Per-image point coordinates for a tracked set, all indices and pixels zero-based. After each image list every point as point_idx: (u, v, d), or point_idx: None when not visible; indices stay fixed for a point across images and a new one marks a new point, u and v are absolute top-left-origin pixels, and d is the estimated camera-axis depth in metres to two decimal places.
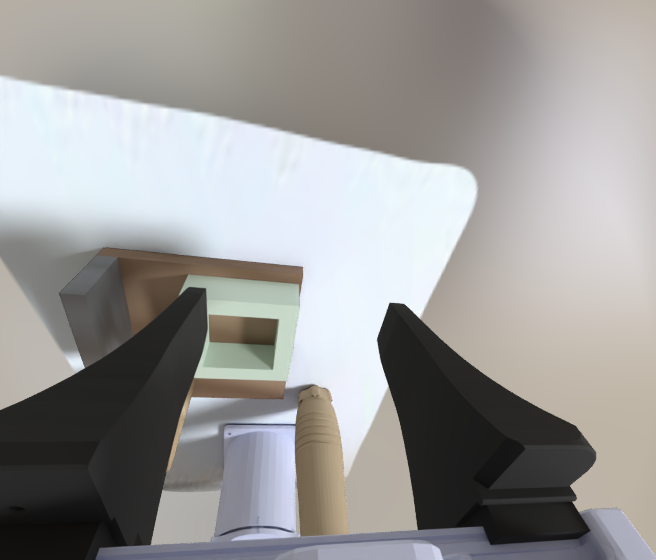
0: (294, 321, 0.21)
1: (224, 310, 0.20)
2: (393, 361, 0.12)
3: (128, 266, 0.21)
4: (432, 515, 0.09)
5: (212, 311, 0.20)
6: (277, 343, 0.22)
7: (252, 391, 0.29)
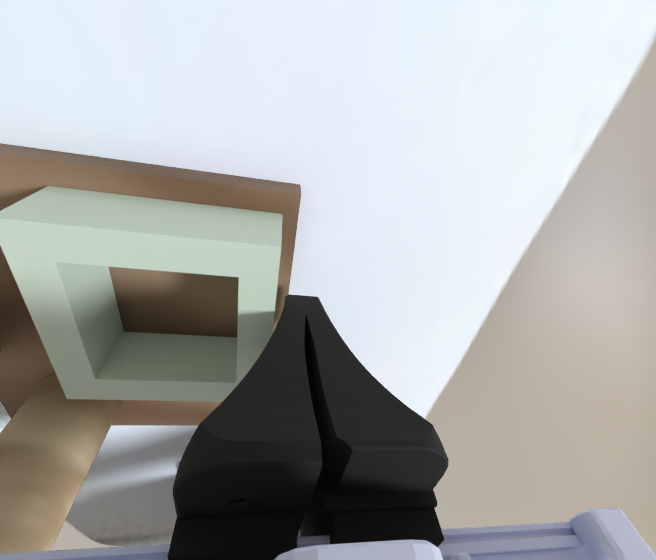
0: (271, 283, 0.10)
1: (113, 254, 0.09)
2: None
3: None
4: (305, 521, 0.08)
5: (83, 256, 0.09)
6: (239, 331, 0.11)
7: None
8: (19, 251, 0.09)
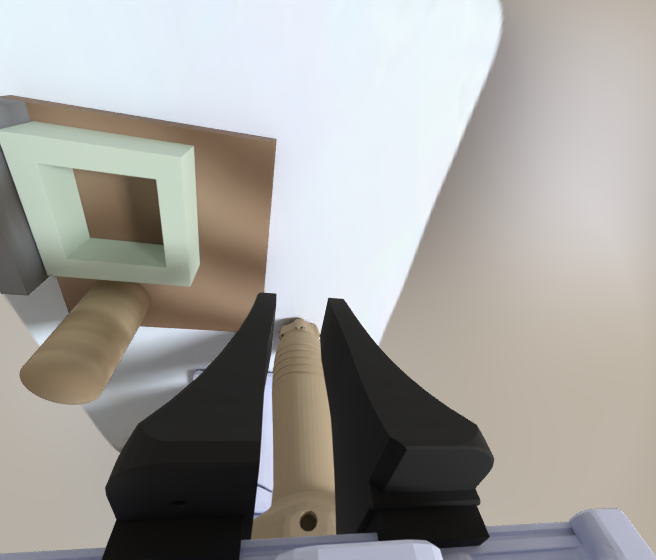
0: (178, 184, 0.16)
1: (72, 158, 0.15)
2: (328, 358, 0.12)
3: (41, 117, 0.16)
4: (344, 519, 0.08)
5: (54, 160, 0.14)
6: (162, 222, 0.17)
7: (222, 320, 0.24)
8: (14, 154, 0.14)
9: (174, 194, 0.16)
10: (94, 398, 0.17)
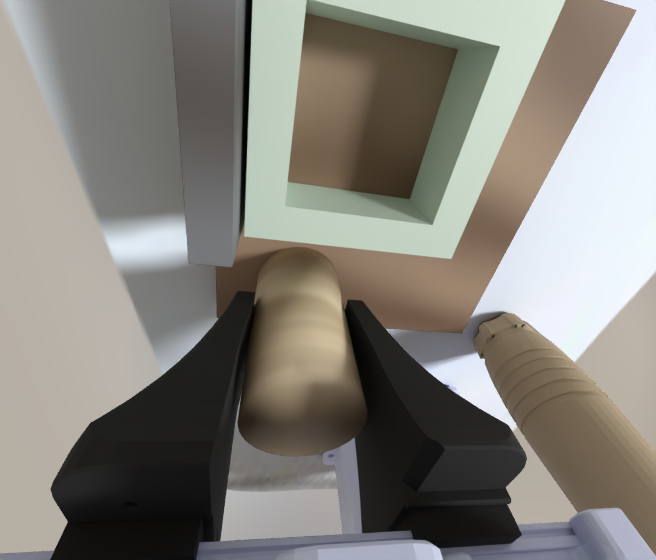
0: (532, 60, 0.08)
1: None
2: None
3: None
4: (372, 518, 0.09)
5: None
6: (467, 139, 0.09)
7: (420, 315, 0.17)
8: None
9: (514, 81, 0.09)
10: (336, 446, 0.10)
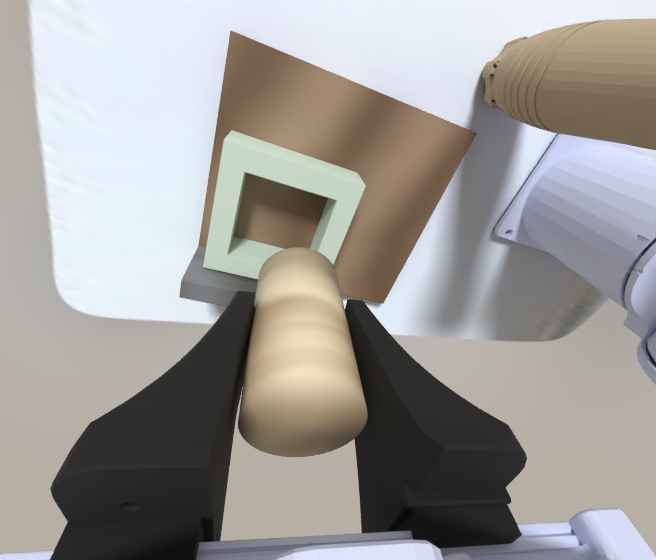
0: (250, 152, 0.16)
1: (224, 229, 0.18)
2: None
3: None
4: (372, 518, 0.09)
5: (224, 242, 0.18)
6: (288, 183, 0.17)
7: (436, 174, 0.20)
8: (220, 265, 0.19)
9: (260, 160, 0.16)
10: (337, 446, 0.10)
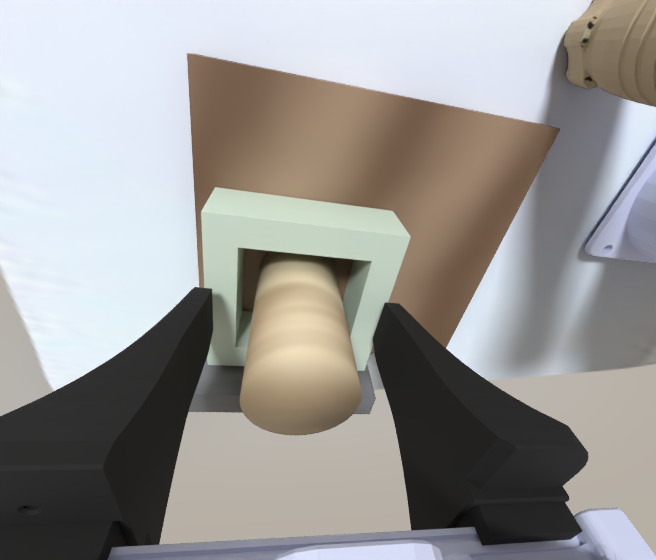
0: (241, 221, 0.11)
1: (225, 320, 0.13)
2: (388, 361, 0.12)
3: None
4: (425, 515, 0.09)
5: (229, 334, 0.14)
6: (300, 251, 0.12)
7: (504, 194, 0.14)
8: (229, 359, 0.15)
9: (257, 229, 0.11)
10: (333, 425, 0.10)
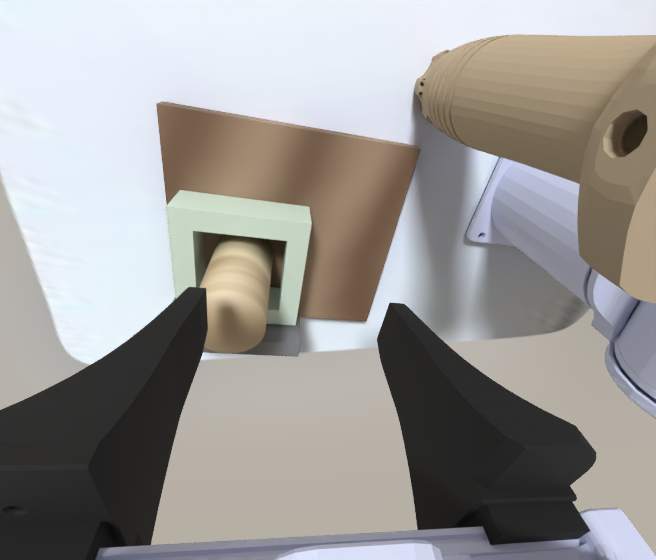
0: (193, 213, 0.17)
1: (187, 283, 0.19)
2: (393, 361, 0.12)
3: None
4: (432, 515, 0.09)
5: None
6: (236, 234, 0.17)
7: (389, 195, 0.20)
8: None
9: (204, 218, 0.17)
10: (251, 346, 0.16)
